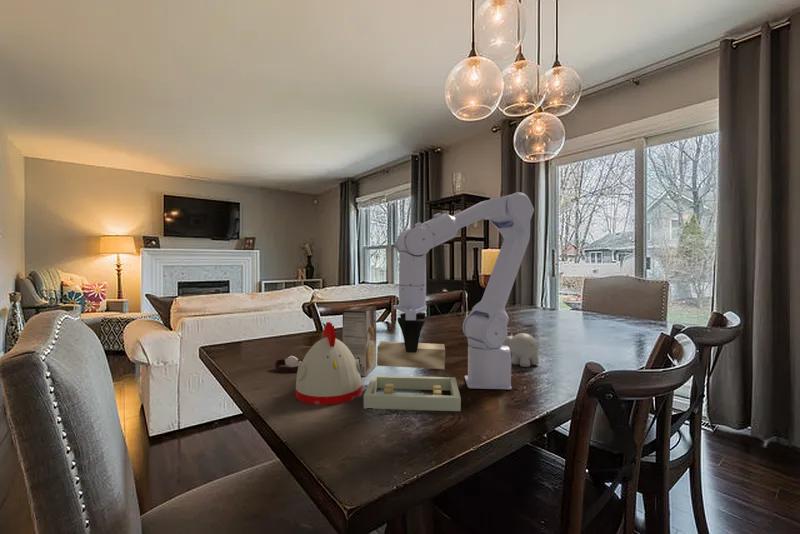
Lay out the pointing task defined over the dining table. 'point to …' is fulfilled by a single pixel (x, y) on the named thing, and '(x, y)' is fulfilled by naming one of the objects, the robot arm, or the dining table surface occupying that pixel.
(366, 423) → the dining table surface
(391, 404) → the peg frame
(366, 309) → the coffee box
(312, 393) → the kitchen timer
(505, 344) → the round bodied animal figurine
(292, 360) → the watch
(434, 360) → the board
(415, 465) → the dining table surface
